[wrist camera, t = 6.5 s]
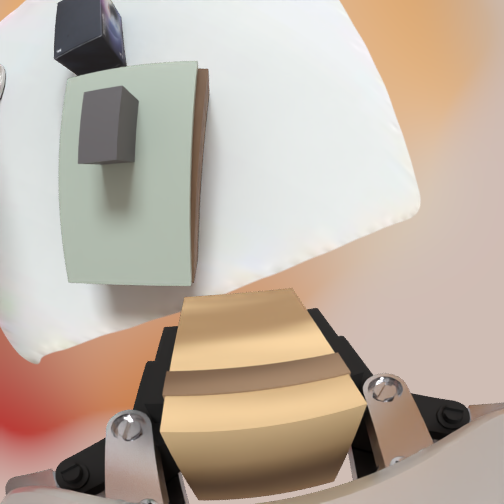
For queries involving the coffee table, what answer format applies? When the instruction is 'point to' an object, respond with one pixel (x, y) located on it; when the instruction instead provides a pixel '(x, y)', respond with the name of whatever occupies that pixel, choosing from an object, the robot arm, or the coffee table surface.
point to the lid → (128, 175)
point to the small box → (88, 36)
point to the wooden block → (256, 397)
